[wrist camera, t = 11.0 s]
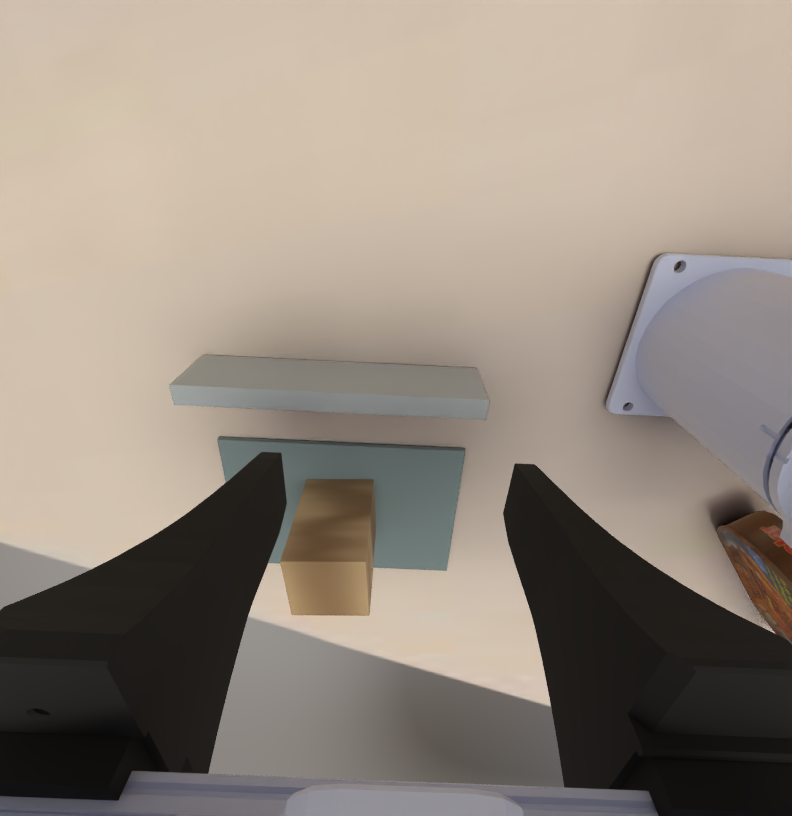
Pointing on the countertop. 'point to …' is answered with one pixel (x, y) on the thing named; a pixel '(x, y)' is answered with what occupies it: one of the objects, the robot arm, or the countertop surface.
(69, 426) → the countertop surface
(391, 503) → the mat
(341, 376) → the low wall
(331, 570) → the oak block
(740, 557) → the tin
